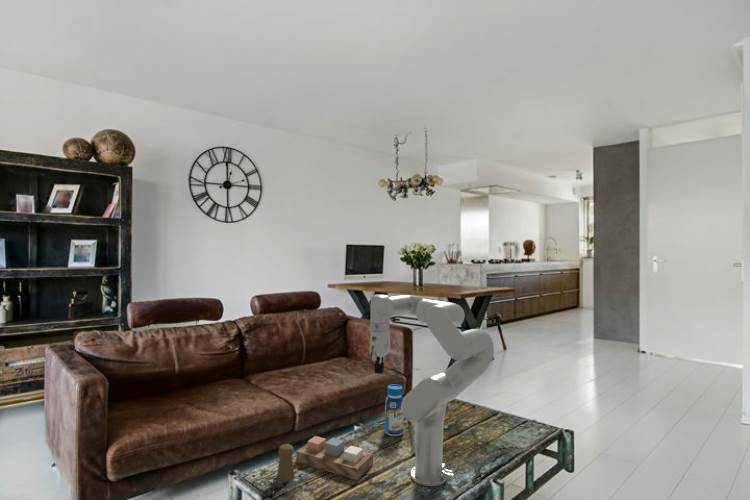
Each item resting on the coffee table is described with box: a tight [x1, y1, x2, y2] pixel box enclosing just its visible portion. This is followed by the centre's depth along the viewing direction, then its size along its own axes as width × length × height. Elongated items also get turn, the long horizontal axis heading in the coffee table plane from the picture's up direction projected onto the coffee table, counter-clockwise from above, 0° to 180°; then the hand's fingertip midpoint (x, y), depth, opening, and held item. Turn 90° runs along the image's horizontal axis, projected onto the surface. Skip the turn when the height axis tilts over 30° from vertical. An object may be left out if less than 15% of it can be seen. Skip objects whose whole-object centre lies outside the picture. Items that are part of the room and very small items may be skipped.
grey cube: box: [325, 437, 345, 458], centre depth 159 cm, size 5×5×5 cm
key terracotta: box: [307, 435, 327, 453], centre depth 163 cm, size 5×5×5 cm
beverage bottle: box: [384, 383, 405, 437], centre depth 186 cm, size 8×8×20 cm
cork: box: [276, 443, 295, 483], centre depth 150 cm, size 6×6×11 cm
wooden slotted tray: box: [295, 440, 374, 481], centre depth 160 cm, size 26×12×4 cm, turn 63°
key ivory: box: [344, 445, 364, 464], centre depth 156 cm, size 5×5×5 cm
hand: (379, 372), depth 169 cm, fingers closed
